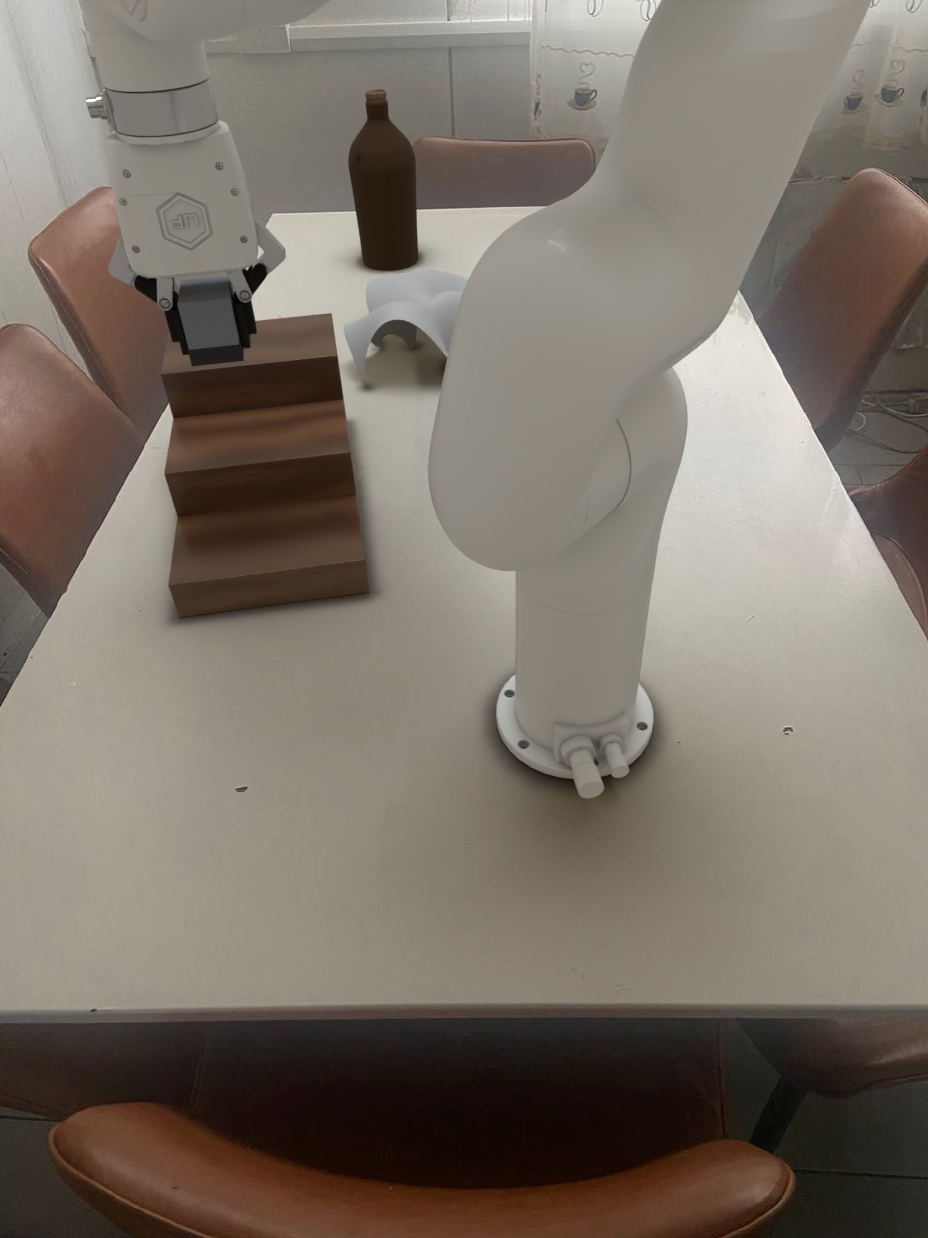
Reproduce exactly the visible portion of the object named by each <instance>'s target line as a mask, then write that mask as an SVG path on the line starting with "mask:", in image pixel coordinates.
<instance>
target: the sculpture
mask: <svg viewBox="0 0 928 1238" xmlns="http://www.w3.org/2000/svg"><path fill="white" fill-rule="evenodd" d="M467 281H468V279H467V278H465V277H464V276H460V275H459V274H456V273H455V274H454V273H451V272H447V271H443V270H440V269H435V268H431V267H417V268H414V269H412V270H410V271H408V272H405V273H402V274H394V275H388V276H383V277H377V278H374V279H373V278H372V279H370V280H369V281H368V282H367V283H366V287H365V300H366V306H367V310H368V314H366V315H365V316H362V317H361V318H359V319H356V320H353V321H350V322H345V323H343V329H342V330H343V334H344V338H345V340H346V343H347V346H348V349H349V351H350V354H351V356H352V358H353V361H354V363H355V365H356V368H357V370H358V372H359V375H360V376H361V379H362V381H363V383H364V385H365V387H366V388H368V385H367V378H366V362H367V354H368V350H369V347H370V344H373V346H375V347H376V348H380V347H381V344H382V342H383V340H384V339H385V338H386V337H388V336H394V337H397V338H399V339H401V340H402V341H403V342H404V343H405V344H406V345H407V347H410V348H411V349H414V348H415V347H416V348H417V346H418V332H419V329H420V330H421V331H422V332H424V333H425V335H427V336H428V337H429V339H431V341H433V343H435V345H436V346H437V347H438V348H439V350H440V351H441V352H442V353H443V354H444V356H445V357H446V358H447V357H448V352H449V347H450V342H451V337H452V332H453V327H454V323H455V318H456V314H457V310H458V306H459V302H460V299H461V296H462V293H463V291H464V288H465V286H466V283H467Z"/></svg>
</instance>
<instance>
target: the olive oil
mask: <svg viewBox="0 0 928 1238" xmlns="http://www.w3.org/2000/svg"><path fill="white" fill-rule="evenodd" d="M364 94H365V95H364V97H365V99H366V101H365V111H366V121H365V123H364V124H363V125H362V127H361V129H360V130H359V132H358V134H357V135H356V136H355V138H354V139H353V141H352V143H351V144H350V147H349V151H348V157H347V162H348V163H347V165H348V173H349V178H350V179H349V180H350V185H351V190H352V196H353V197H352V198H353V203H354V209H355V216H356V221H357V229H358V236H359V242H360V251H361V256H362V257H361V259H362V263H363V265H365V266H366V267H368V268H370V269H373V270H381V271H392V270H400V269H404V268H407V267H411V266H412V265H414V264H416V263H417V261H418V260H419V240H418V209H417V208H418V207H417V162H416V155H415V152H414V149H413V145H412V144H411V142H410V140H409V138H407V136H406V135H405V134H404V133H403V132H402V131H401V130H400V129H399V128H398V127H397V126H396V125H395V124H394V122H392V120H391V119H390V116H389V101H388V99H387V91H386V90H385V89H381V88H377V89H368V90H366V91H365V93H364Z"/></svg>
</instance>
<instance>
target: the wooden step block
mask: <svg viewBox="0 0 928 1238" xmlns="http://www.w3.org/2000/svg"><path fill="white" fill-rule="evenodd" d="M333 319H334V318H333V313H332V312H328V313H327V312H326V313H319V314H318V313H317V314H310V315H309V314H308V315H299V316H290V317H289V316H288V317H281V318H278V317H277V318H271V319H260V320H255V321H256V327H257V334H250V335H251V348H246V349H245V348H244V361H238V362H229V363H220V364H211V365H201V366H192V365H191V361H190V357H189V355H183V354H182V350H181V347H180V343H179V342H172V339H171V335H170V331H169V330H168V336H167V340H166V345H165V346H166V347H165V350H164V356H163V361H162V365H161V371H160V377H161V380H162V384H163V387H164V391H165V395H166V398H167V402H168V405H169V409H170V412H171V416H172V423H171V424H172V425H171V428H170V429H171V430H170V436H169V442H168V448H167V454H166V461H165V467H164V474H163V475H164V477H165V481H166V484H167V488H168V490H169V494H170V498H171V501H172V504H173V507H174V511H175V515H176V525H175V530H174V531H175V532H174V539H173V547H172V555H171V563H170V570H169V578H168V589H169V592H170V594H171V597H172V600H173V603H174V606H175V610H176V612H177V615H178V618H186V617H193V616H201V615H208V614H209V615H210V614H215V613H223V612H231V611H238V610H239V611H240V610H246V609H253V608H261V607H268V606H276V605H282V604H283V605H284V604H291V603H298V602H305V601H312V600H313V601H314V600H322V599H328V598H336V597H337V598H338V597H344V596H350V595H358V594H365V593H370V583H369V575H368V569H367V561H366V555H365V546H364V538H363V531H362V523H361V518H360V517H361V516H360V509H359V501H358V494H357V486H356V478H355V472H354V464H353V457H352V449H351V441H350V435H349V427H348V420H347V419H348V418H347V413H346V406H345V398H344V391H343V384H342V377H341V370H340V362H339V361H340V360H339V355H338V349H337V348H338V347H337V341H336V334H335V326H334V320H333Z"/></svg>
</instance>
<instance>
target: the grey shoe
mask: <svg viewBox="0 0 928 1238" xmlns="http://www.w3.org/2000/svg"><path fill="white" fill-rule="evenodd" d="M233 297H234V288H233V286H232V284H231V281H230V279H229V277H228V275H225V276H214V277H204V278H203V277H202V278H192V279H185V280H184V279H183V280H180V283H179V290H178V303H177V305H178V309H179V313H180V317H181V321H182V325H183V328H184V332H185V336H186V340H187V344H188V353H189V357H190V361H191V365H192V366H201V365H211V364H220V363H229V362H238V361H244V347H242V344H241V340H240V336H239V331H238V326H237V322H236V317H235V312H234V307H233Z"/></svg>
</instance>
